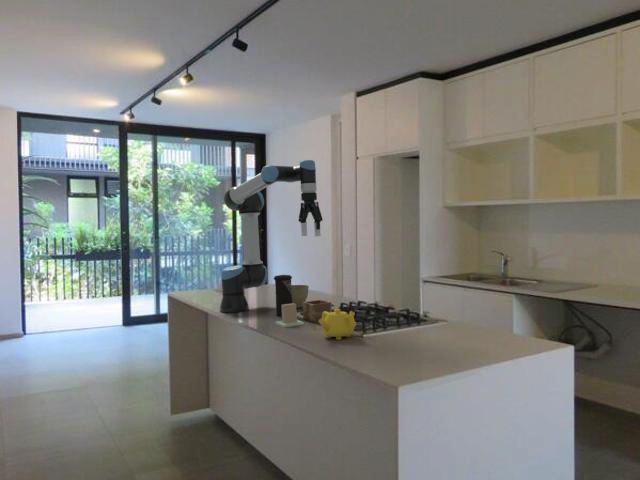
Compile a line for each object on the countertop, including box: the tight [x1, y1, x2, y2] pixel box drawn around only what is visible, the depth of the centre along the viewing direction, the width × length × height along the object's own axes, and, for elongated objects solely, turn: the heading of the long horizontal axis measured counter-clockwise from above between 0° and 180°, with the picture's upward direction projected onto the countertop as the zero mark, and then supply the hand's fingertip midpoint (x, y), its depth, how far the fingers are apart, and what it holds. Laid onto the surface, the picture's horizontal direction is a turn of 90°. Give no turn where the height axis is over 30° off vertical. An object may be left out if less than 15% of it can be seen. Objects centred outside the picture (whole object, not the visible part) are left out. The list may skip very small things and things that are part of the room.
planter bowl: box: [291, 284, 310, 309], centre depth 286 cm, size 16×16×11 cm
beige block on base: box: [274, 303, 305, 328], centre depth 241 cm, size 10×10×9 cm
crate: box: [302, 299, 333, 323], centre depth 249 cm, size 10×10×8 cm
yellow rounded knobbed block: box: [318, 308, 357, 341], centre depth 212 cm, size 20×18×11 cm
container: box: [273, 274, 293, 317], centre depth 264 cm, size 9×9×20 cm
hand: (310, 236), depth 258 cm, fingers open, 13 cm apart
